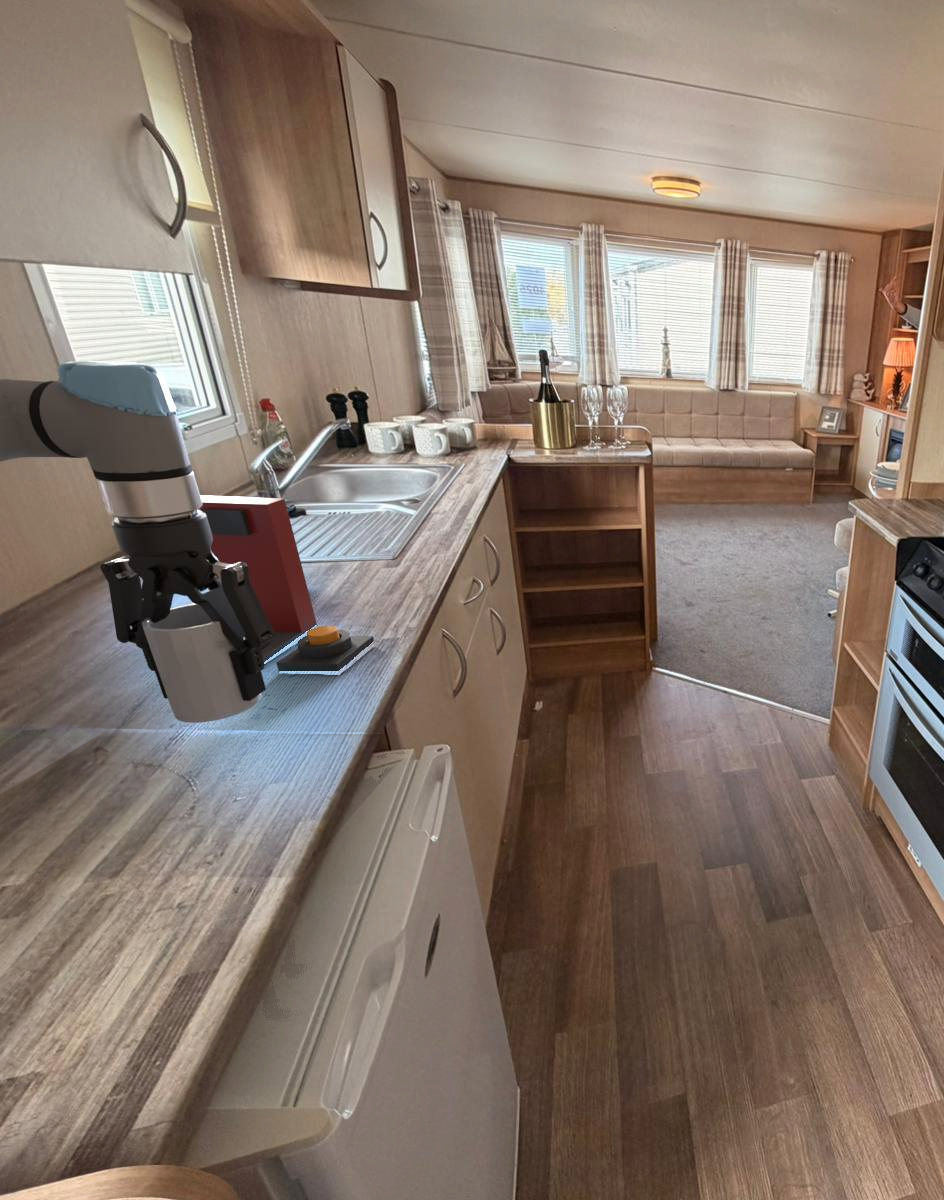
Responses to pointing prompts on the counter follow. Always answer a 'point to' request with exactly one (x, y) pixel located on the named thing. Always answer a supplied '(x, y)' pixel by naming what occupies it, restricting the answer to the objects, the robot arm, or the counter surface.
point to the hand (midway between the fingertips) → (216, 693)
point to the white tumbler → (195, 665)
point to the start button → (323, 635)
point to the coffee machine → (264, 560)
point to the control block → (324, 654)
